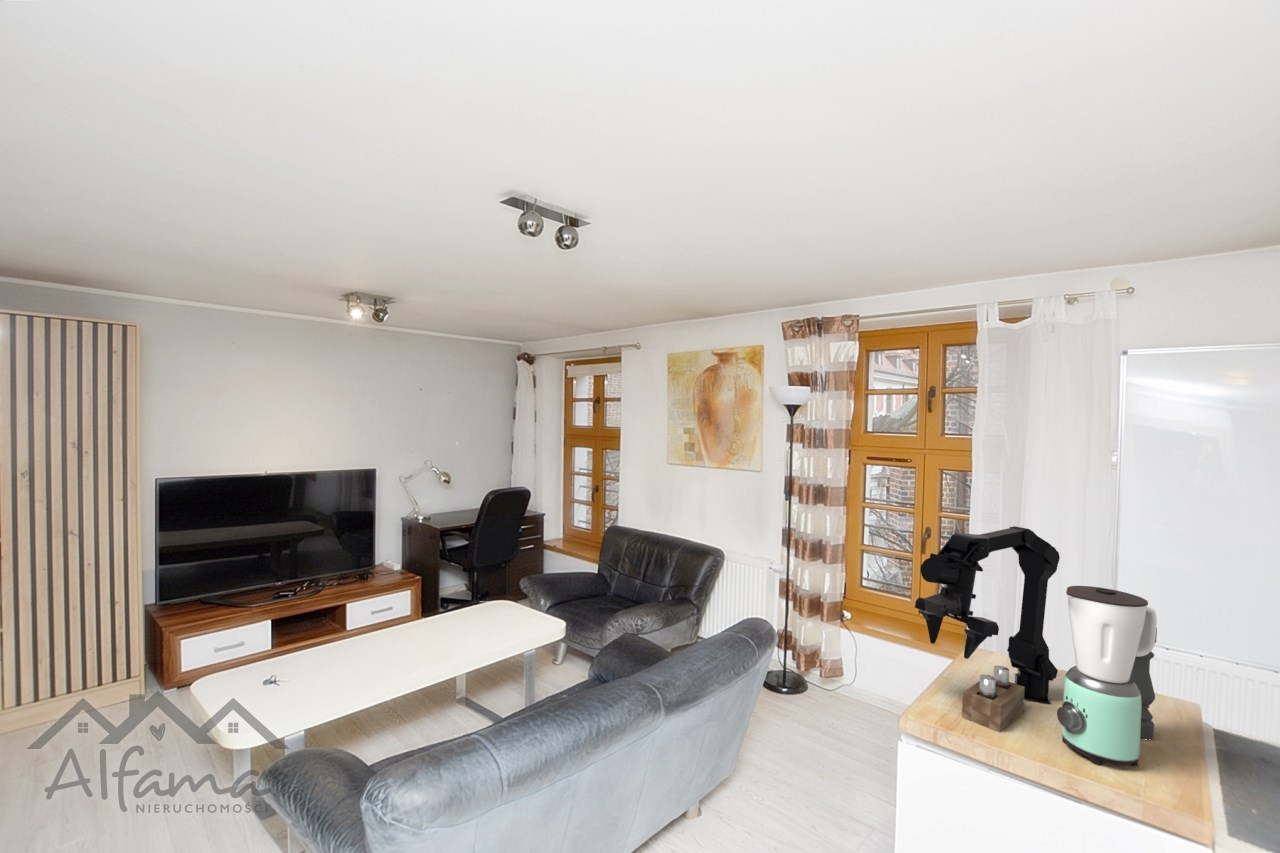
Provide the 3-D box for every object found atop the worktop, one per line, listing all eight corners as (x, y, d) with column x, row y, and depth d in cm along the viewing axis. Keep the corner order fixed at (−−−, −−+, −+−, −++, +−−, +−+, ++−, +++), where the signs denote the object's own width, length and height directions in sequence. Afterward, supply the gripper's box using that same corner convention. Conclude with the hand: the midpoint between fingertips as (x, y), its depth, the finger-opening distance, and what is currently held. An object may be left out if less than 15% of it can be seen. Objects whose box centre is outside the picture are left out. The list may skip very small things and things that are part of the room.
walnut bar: (1023, 711, 139) (1024, 686, 139) (999, 732, 129) (1000, 705, 129) (987, 698, 145) (988, 674, 145) (961, 717, 135) (962, 692, 135)
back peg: (1007, 689, 141) (1008, 667, 141) (1009, 694, 138) (1010, 672, 138) (992, 686, 142) (993, 664, 142) (994, 691, 139) (995, 669, 139)
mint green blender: (1088, 771, 115) (1096, 599, 115) (1037, 735, 128) (1044, 580, 128) (1176, 771, 116) (1184, 601, 116) (1117, 735, 130) (1124, 582, 129)
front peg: (993, 699, 135) (994, 676, 135) (995, 705, 132) (996, 682, 132) (978, 696, 136) (979, 673, 136) (979, 702, 133) (981, 679, 133)
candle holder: (1144, 729, 133) (1149, 622, 133) (1159, 742, 127) (1164, 631, 127) (1112, 723, 135) (1117, 618, 135) (1125, 736, 129) (1130, 627, 129)
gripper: (904, 572, 144) (893, 634, 143) (972, 595, 127) (960, 665, 126) (935, 577, 148) (925, 637, 147) (1005, 599, 131) (994, 667, 130)
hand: (948, 650), depth 137 cm, fingers open, 9 cm apart
